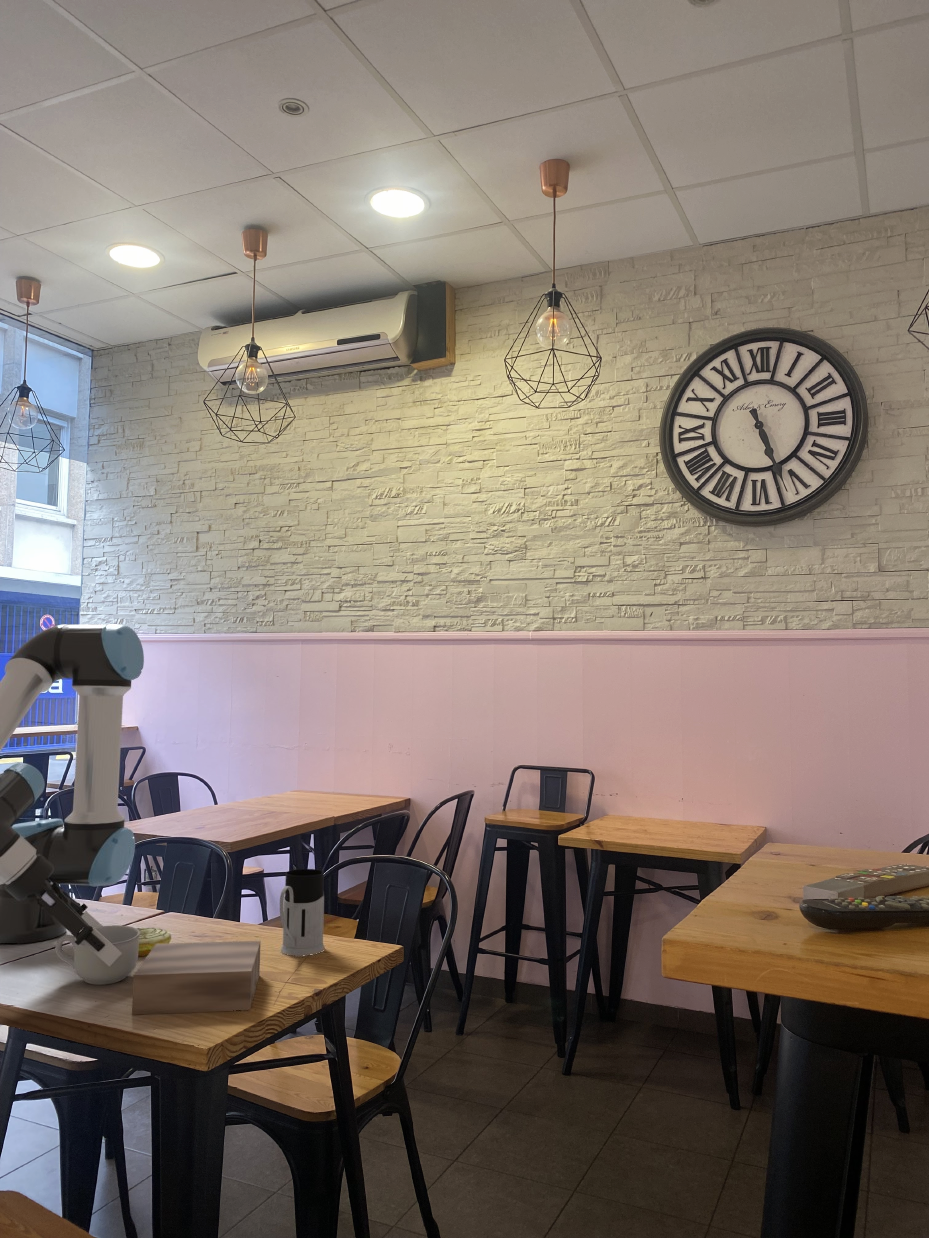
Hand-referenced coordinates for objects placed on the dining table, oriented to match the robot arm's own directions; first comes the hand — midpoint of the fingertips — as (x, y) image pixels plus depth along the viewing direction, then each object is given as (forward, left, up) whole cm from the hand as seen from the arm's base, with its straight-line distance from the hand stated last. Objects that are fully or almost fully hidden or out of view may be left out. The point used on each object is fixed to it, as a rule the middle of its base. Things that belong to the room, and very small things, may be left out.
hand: (110, 949), depth 155 cm
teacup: (+1, -2, -5) cm, 5 cm away
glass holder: (-11, +32, -5) cm, 34 cm away
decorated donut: (-17, +2, -5) cm, 18 cm away
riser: (+11, +17, -5) cm, 21 cm away
